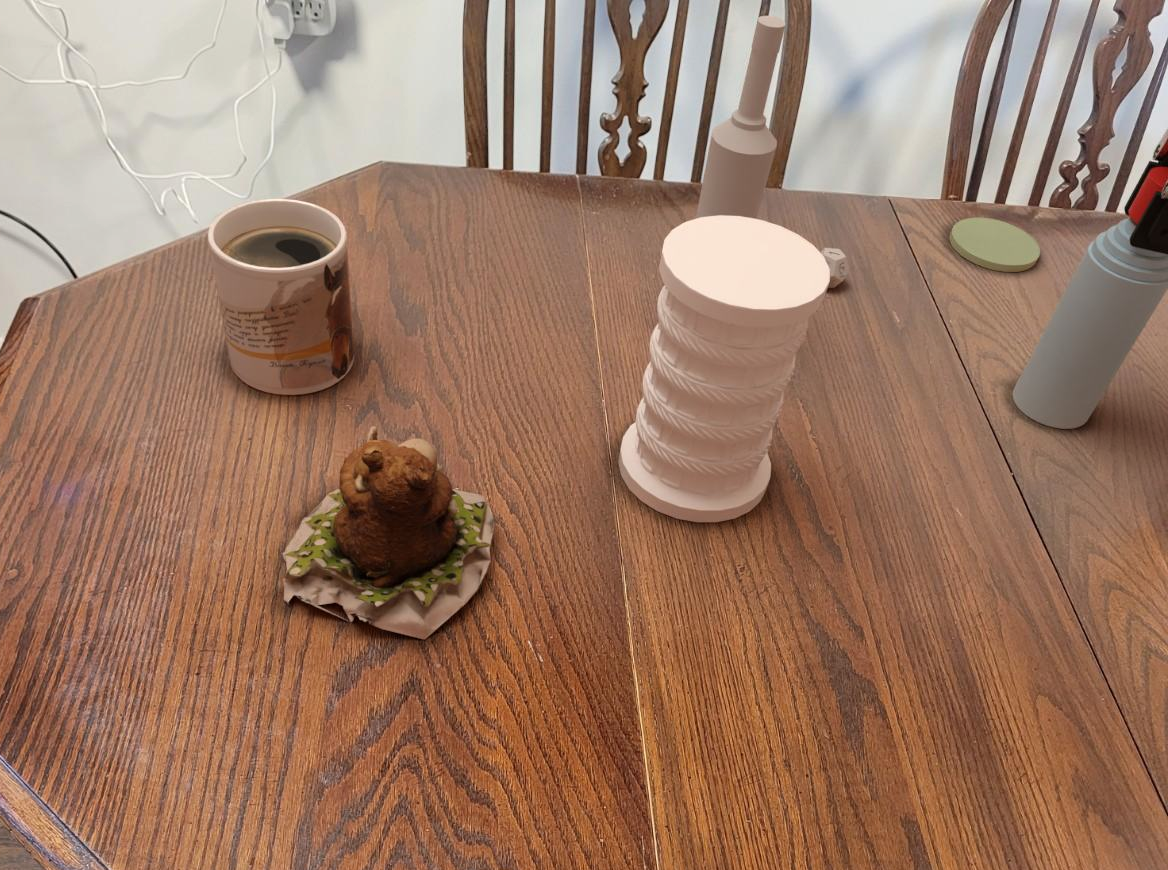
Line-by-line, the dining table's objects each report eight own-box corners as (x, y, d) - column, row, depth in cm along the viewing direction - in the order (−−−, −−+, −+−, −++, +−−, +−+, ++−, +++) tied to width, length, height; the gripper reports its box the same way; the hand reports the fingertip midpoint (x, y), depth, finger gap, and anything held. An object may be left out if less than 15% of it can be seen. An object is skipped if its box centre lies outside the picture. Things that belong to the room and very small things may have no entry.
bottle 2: (1086, 391, 92) (1214, 174, 77) (1091, 437, 88) (1227, 217, 73) (1011, 373, 93) (1124, 155, 78) (1012, 417, 89) (1131, 196, 73)
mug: (204, 339, 85) (179, 212, 76) (336, 298, 90) (327, 175, 82) (265, 411, 80) (245, 284, 71) (401, 363, 85) (398, 239, 77)
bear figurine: (526, 511, 75) (540, 375, 66) (440, 663, 66) (442, 528, 57) (355, 455, 77) (346, 315, 68) (248, 594, 68) (219, 453, 59)
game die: (841, 296, 98) (851, 268, 96) (803, 286, 99) (811, 257, 96) (846, 277, 101) (856, 249, 98) (808, 267, 101) (817, 239, 99)
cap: (1179, 212, 78) (1202, 174, 76) (1185, 238, 76) (1209, 199, 74) (1126, 201, 79) (1146, 162, 76) (1130, 226, 76) (1152, 186, 74)
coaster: (1035, 236, 110) (1039, 229, 109) (1038, 280, 104) (1041, 273, 103) (950, 216, 110) (953, 209, 110) (947, 259, 105) (950, 252, 104)
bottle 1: (663, 307, 94) (722, 9, 75) (712, 298, 96) (782, 4, 77) (691, 340, 91) (760, 39, 72) (741, 330, 93) (821, 33, 74)
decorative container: (618, 515, 76) (658, 302, 63) (618, 413, 84) (654, 203, 70) (774, 529, 77) (848, 322, 63) (760, 427, 84) (823, 222, 71)
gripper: (1399, 22, 58) (1212, 304, 72) (1335, -68, 69) (1184, 192, 83) (1261, -6, 59) (1103, 278, 73) (1220, -90, 70) (1089, 171, 84)
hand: (1148, 230), depth 78 cm, fingers closed on bottle 2, 4 cm apart
